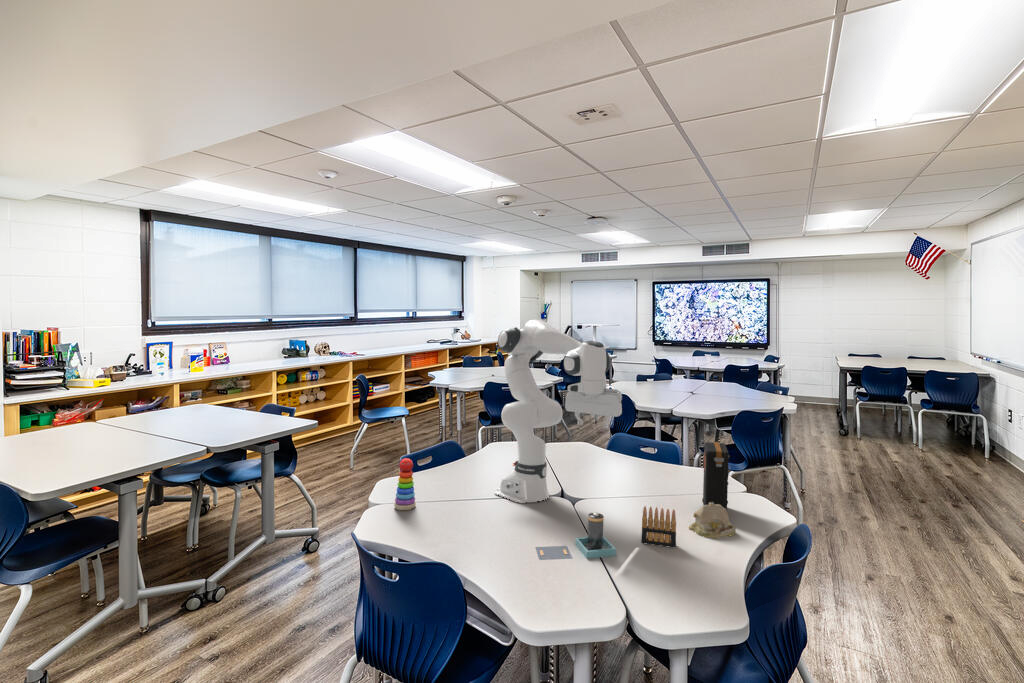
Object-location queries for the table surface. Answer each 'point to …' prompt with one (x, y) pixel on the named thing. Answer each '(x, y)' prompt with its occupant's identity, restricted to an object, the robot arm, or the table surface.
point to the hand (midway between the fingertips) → (592, 426)
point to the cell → (595, 531)
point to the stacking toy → (405, 487)
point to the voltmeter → (715, 474)
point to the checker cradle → (553, 552)
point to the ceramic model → (712, 521)
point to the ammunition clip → (659, 528)
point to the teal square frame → (595, 553)
